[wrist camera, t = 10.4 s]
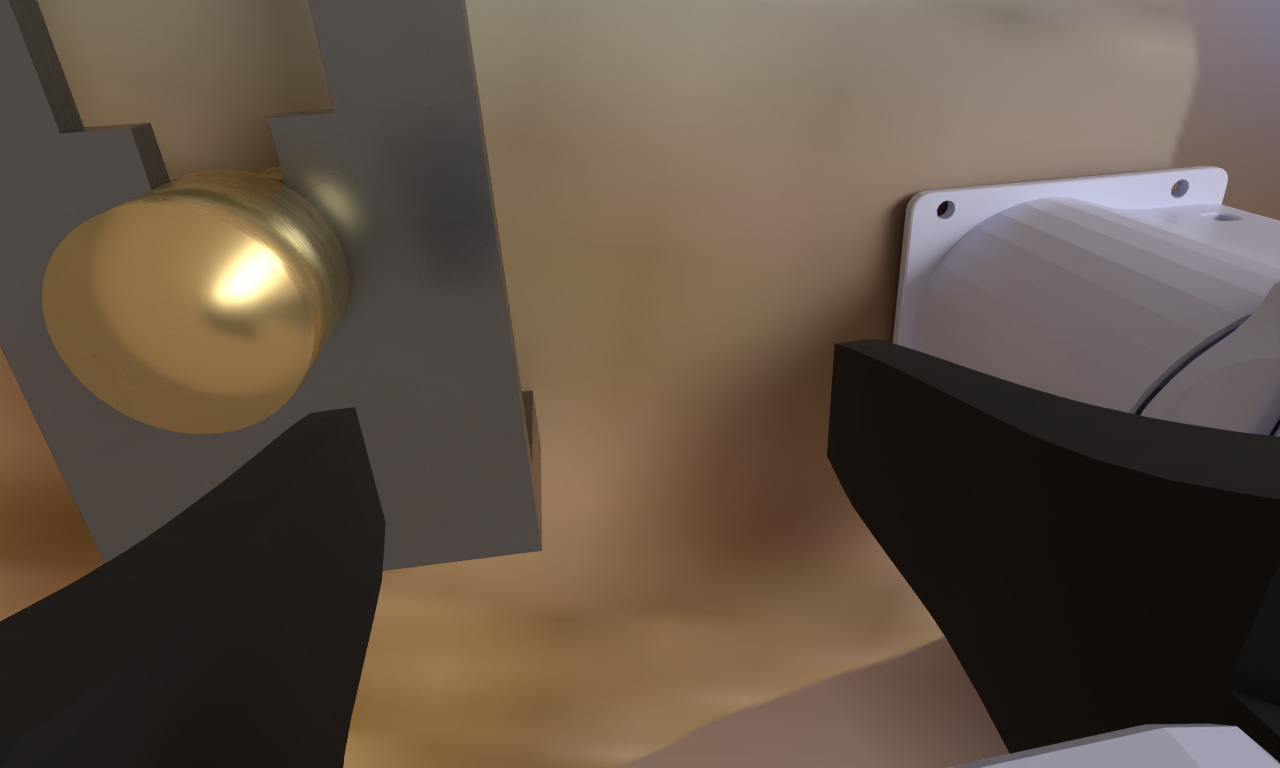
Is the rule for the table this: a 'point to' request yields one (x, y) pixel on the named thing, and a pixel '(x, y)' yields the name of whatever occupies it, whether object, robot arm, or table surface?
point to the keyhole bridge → (377, 304)
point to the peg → (198, 300)
